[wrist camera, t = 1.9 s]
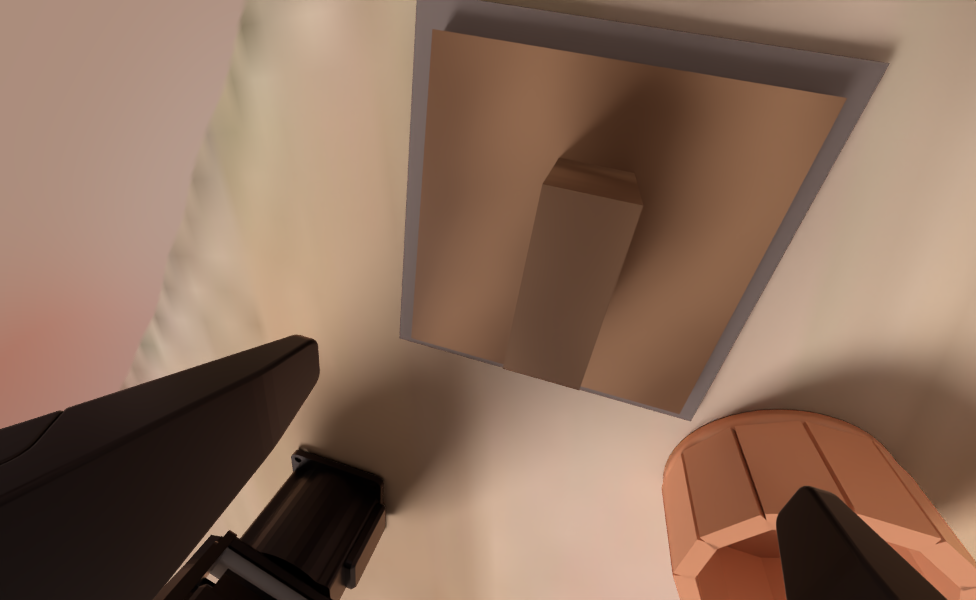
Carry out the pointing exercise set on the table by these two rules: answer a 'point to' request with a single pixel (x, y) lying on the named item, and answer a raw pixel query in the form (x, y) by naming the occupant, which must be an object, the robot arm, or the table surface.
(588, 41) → the tray
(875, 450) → the bowl
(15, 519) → the robot arm
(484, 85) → the lid
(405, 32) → the table surface
